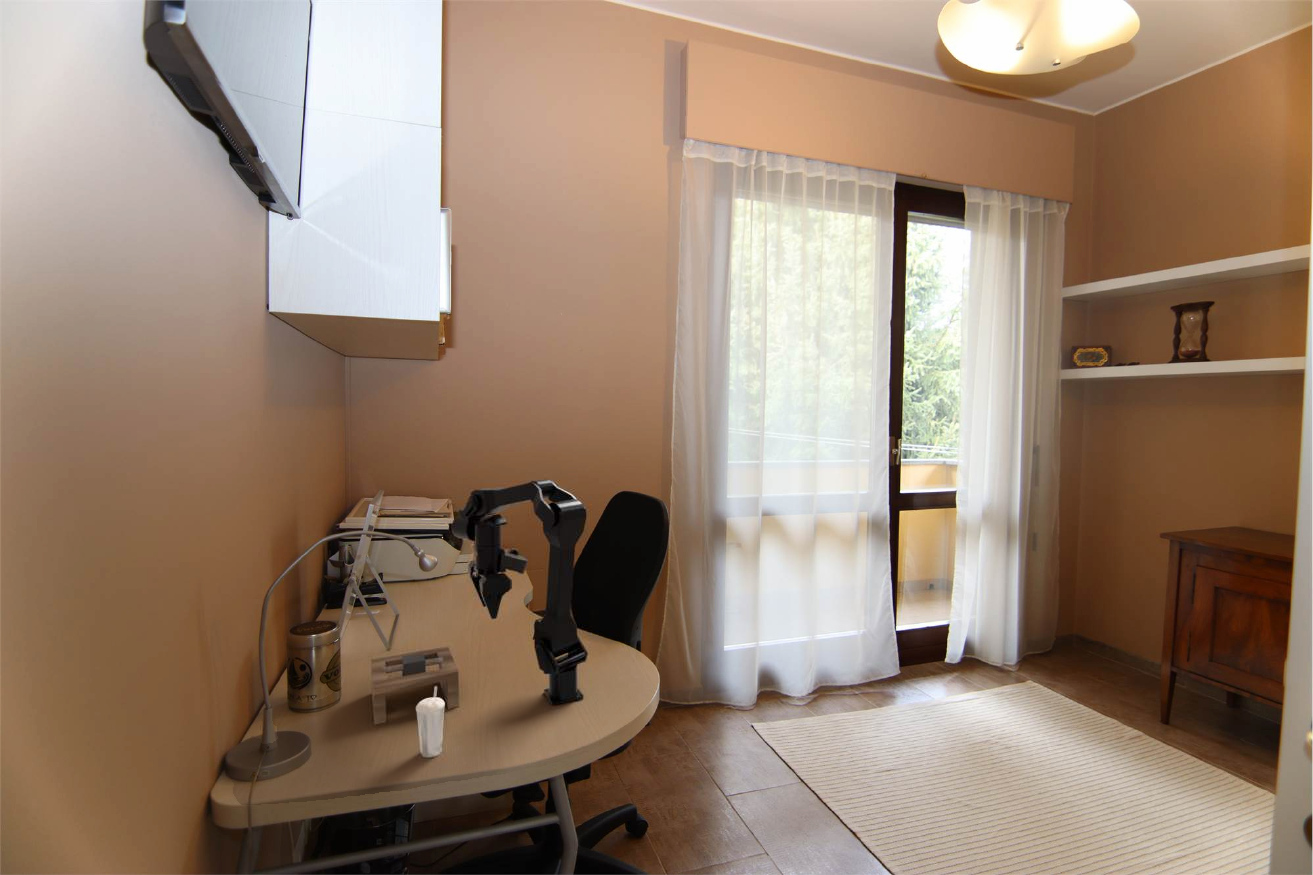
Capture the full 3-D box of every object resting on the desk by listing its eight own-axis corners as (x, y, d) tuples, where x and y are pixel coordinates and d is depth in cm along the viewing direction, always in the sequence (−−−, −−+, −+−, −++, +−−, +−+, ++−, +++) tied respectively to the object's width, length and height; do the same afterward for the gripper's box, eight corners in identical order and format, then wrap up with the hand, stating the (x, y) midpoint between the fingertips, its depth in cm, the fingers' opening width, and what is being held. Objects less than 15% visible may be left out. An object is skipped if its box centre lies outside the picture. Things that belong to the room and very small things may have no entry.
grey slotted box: (425, 683, 121) (425, 660, 121) (404, 688, 119) (403, 664, 119) (423, 676, 125) (423, 652, 124) (402, 680, 123) (401, 656, 123)
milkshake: (450, 742, 106) (449, 685, 106) (440, 759, 101) (439, 700, 101) (424, 742, 106) (422, 686, 106) (413, 760, 101) (411, 701, 101)
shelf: (459, 706, 119) (458, 668, 119) (374, 724, 112) (373, 684, 112) (448, 678, 132) (448, 643, 131) (371, 693, 125) (370, 656, 125)
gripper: (534, 548, 132) (536, 619, 133) (514, 532, 149) (515, 595, 150) (482, 554, 128) (483, 627, 128) (467, 537, 144) (468, 602, 145)
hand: (489, 612), depth 138 cm, fingers open, 9 cm apart
